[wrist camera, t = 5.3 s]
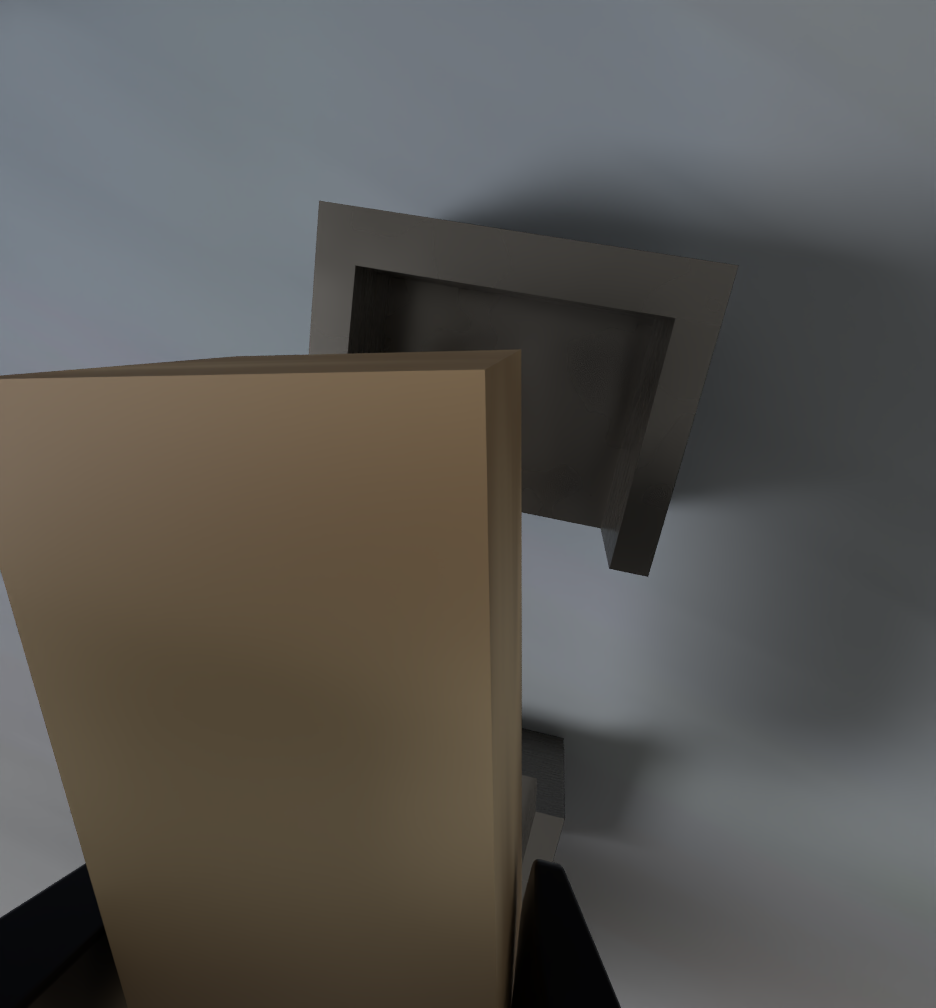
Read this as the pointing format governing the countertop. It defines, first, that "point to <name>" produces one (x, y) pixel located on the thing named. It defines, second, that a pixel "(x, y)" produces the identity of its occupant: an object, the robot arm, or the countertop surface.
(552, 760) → the dark grey arch block
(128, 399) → the rail
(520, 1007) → the robot arm
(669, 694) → the countertop surface
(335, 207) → the bracket
